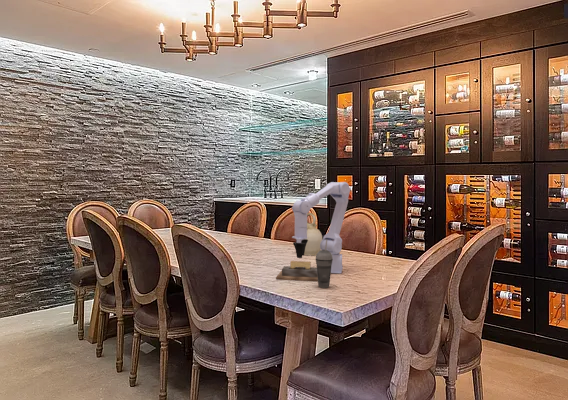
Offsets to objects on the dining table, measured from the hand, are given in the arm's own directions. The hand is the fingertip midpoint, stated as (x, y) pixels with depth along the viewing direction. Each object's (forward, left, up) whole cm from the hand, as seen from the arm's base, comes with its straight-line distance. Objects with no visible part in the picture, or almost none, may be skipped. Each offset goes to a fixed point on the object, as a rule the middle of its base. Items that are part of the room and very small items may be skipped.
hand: (300, 256), depth 197 cm
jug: (+3, -63, -10) cm, 64 cm away
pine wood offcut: (0, +1, -8) cm, 8 cm away
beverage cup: (-12, +17, -10) cm, 23 cm away
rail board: (0, +1, -9) cm, 9 cm away
